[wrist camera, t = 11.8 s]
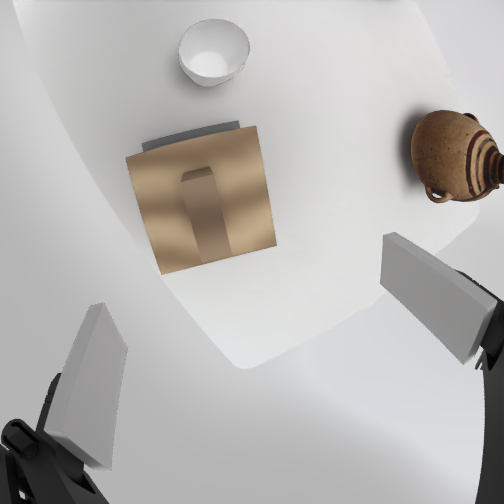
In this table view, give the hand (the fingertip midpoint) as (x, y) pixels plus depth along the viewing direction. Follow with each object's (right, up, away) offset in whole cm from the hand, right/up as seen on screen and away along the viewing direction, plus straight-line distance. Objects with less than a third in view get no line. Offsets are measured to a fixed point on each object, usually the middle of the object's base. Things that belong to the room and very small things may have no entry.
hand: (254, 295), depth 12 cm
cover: (-8, +13, +33) cm, 36 cm away
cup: (-7, +31, +26) cm, 41 cm away
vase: (+38, +25, +39) cm, 59 cm away
